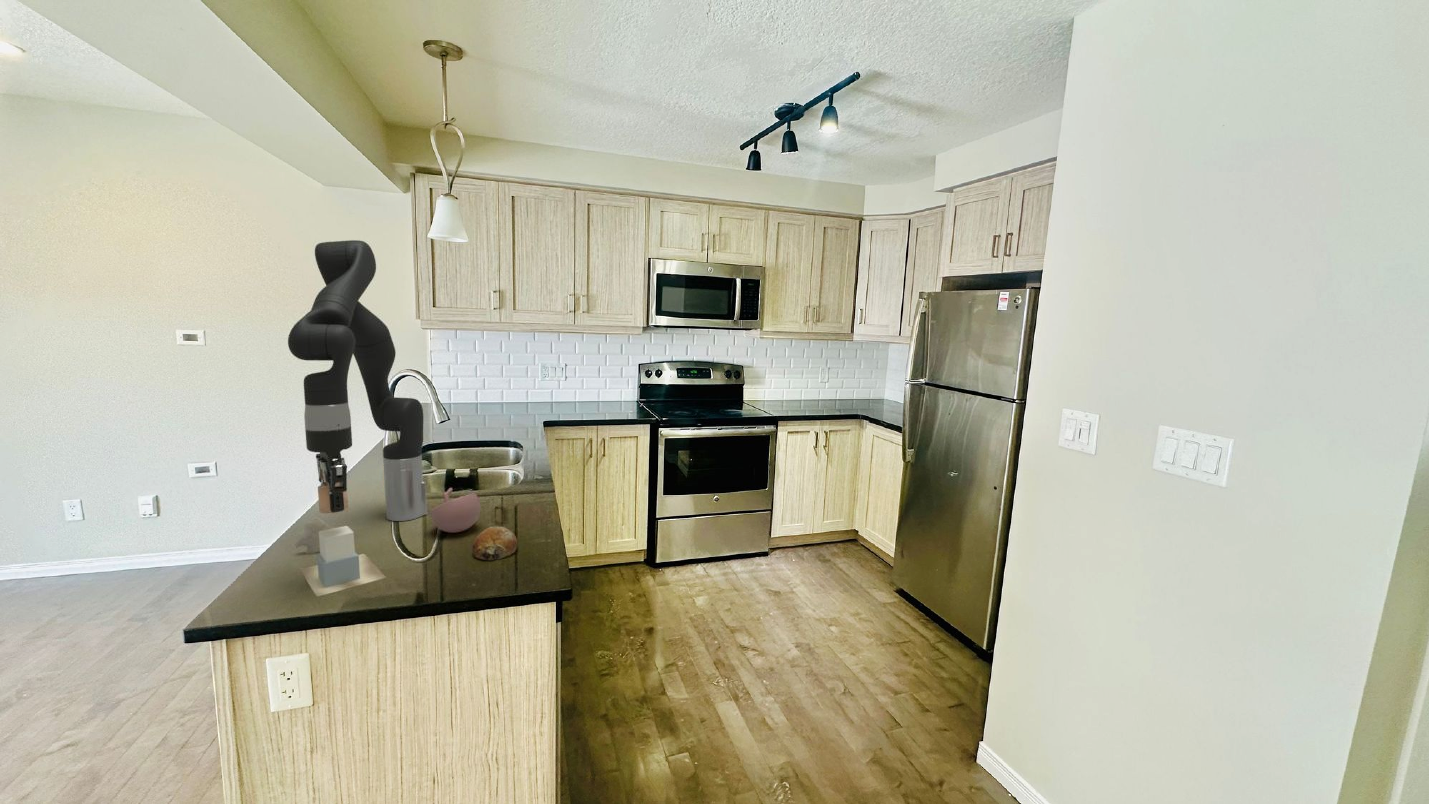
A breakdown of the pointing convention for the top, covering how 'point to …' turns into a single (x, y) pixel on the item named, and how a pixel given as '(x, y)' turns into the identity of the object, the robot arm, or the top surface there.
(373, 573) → the board
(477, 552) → the bread roll
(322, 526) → the arrowhead
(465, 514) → the mortar and pestle
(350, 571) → the tower lower
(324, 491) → the peach cylinder
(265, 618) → the top surface
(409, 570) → the top surface
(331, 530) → the tower upper
